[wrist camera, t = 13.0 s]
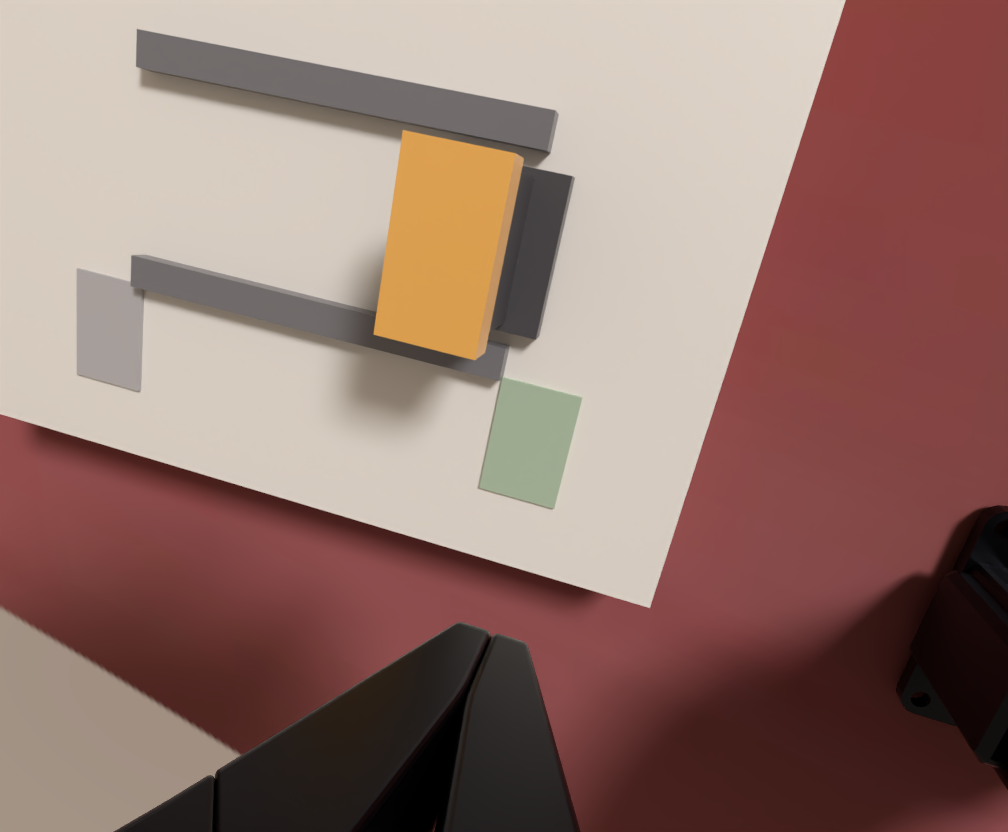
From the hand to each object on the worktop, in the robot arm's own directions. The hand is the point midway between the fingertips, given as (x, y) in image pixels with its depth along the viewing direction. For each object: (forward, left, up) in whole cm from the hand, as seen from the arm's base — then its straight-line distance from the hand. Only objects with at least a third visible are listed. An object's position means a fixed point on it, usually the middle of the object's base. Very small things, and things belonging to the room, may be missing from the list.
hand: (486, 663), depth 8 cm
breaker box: (+7, -4, -12) cm, 14 cm away
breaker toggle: (+3, -4, -9) cm, 10 cm away
